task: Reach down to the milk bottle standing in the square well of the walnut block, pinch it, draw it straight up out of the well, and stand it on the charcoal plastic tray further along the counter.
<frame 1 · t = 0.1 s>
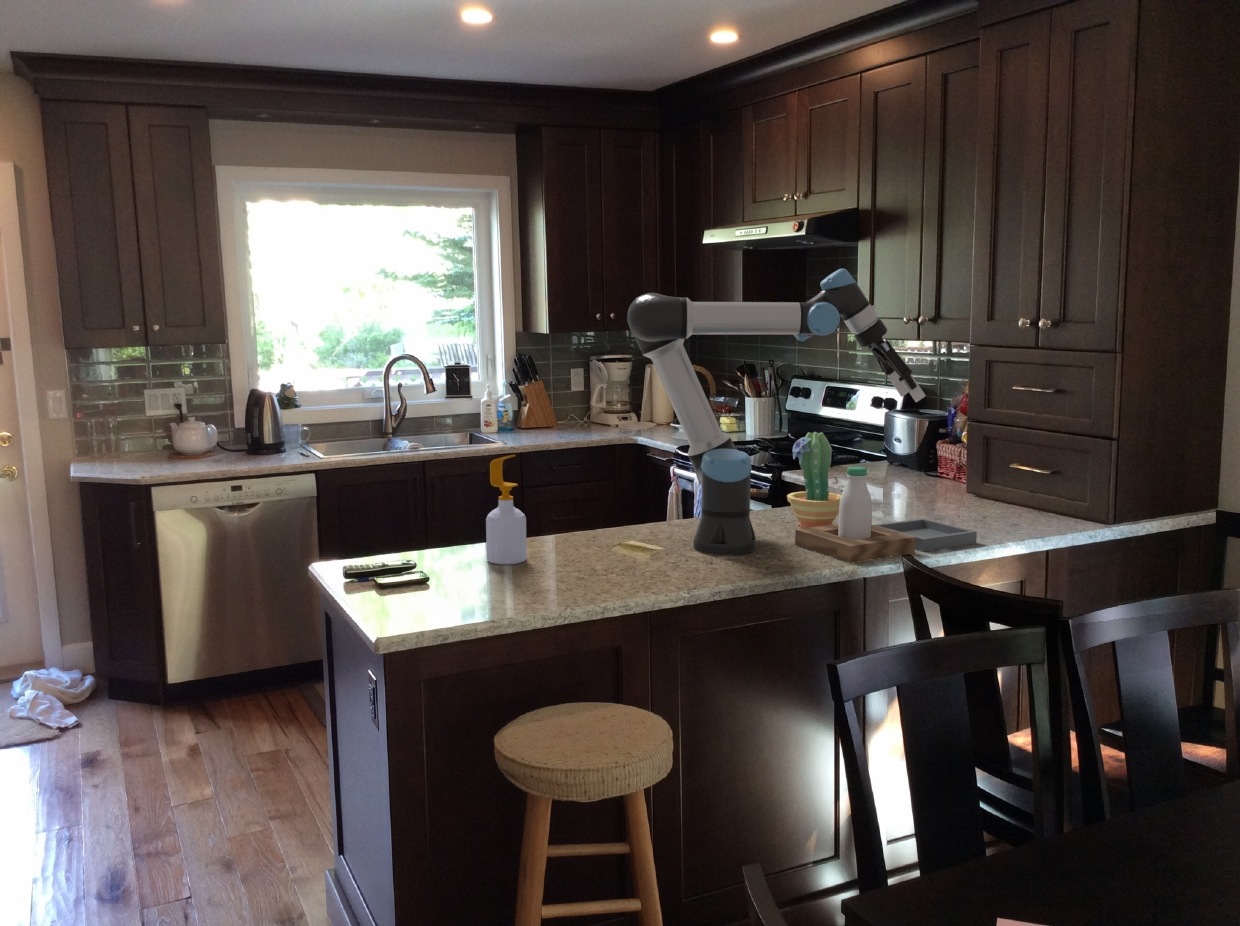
hand: (913, 396, 262), 36 cm above the worktop, tool tilted 35°, fingers open, 13 cm apart
potted cactus: (815, 526, 281), on the worktop
milk bottle: (853, 550, 254), resting in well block
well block: (853, 549, 254), on the worktop
soap bottle: (506, 561, 242), on the worktop
tray: (922, 540, 264), on the worktop
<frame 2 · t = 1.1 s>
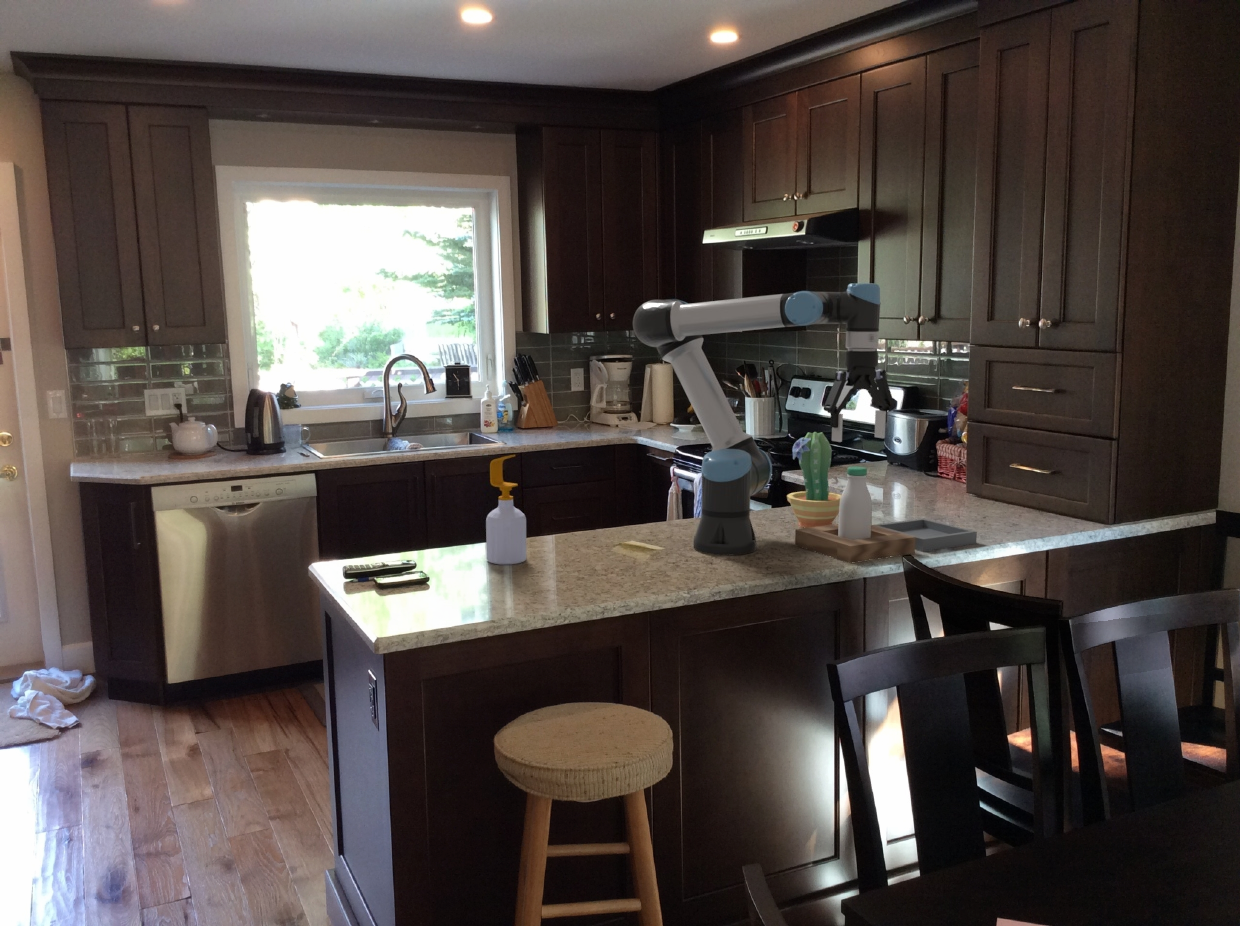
hand: (858, 439, 251), 27 cm above the worktop, tool pointing down, fingers open, 13 cm apart
nothing on the worktop moved.
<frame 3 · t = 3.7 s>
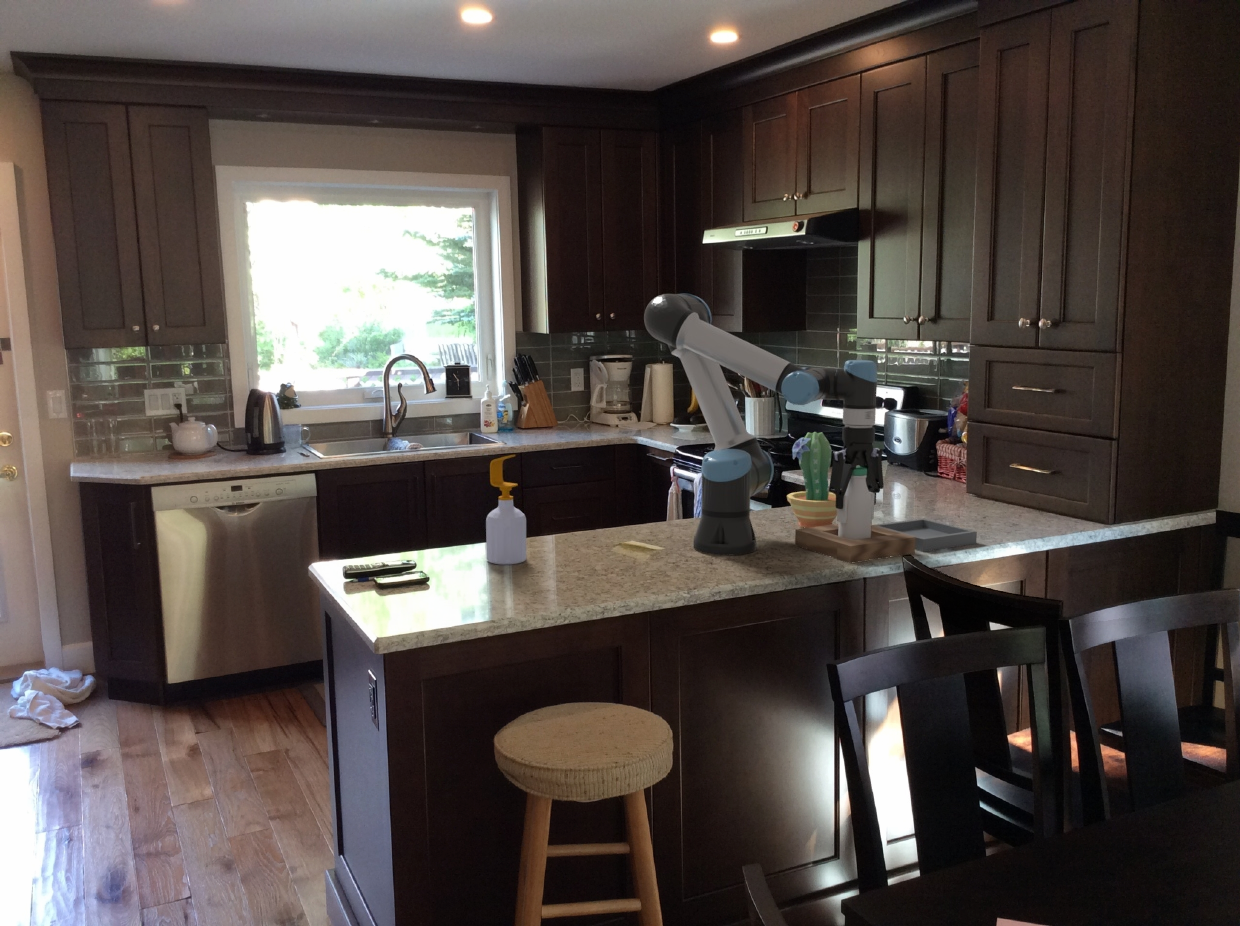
hand: (855, 520, 253), 7 cm above the worktop, tool pointing down, fingers closed on milk bottle, 8 cm apart
milk bottle: (854, 550, 254), resting in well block, touching gripper
everything else where it was.
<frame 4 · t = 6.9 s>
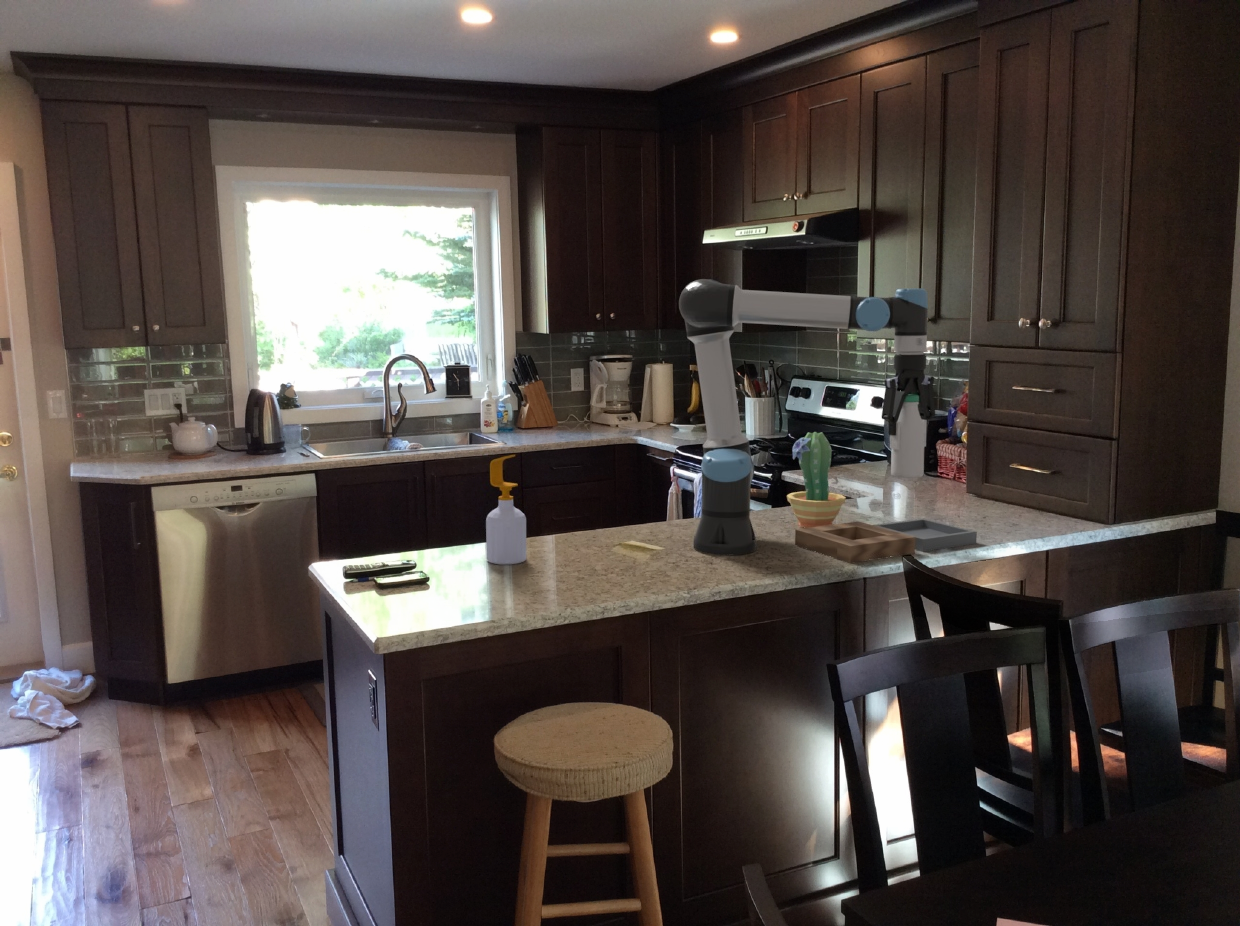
hand: (907, 447, 257), 24 cm above the worktop, tool pointing down, fingers closed on milk bottle, 8 cm apart
milk bottle: (907, 477, 258), point 17 cm above the worktop, touching gripper
everything else where it was.
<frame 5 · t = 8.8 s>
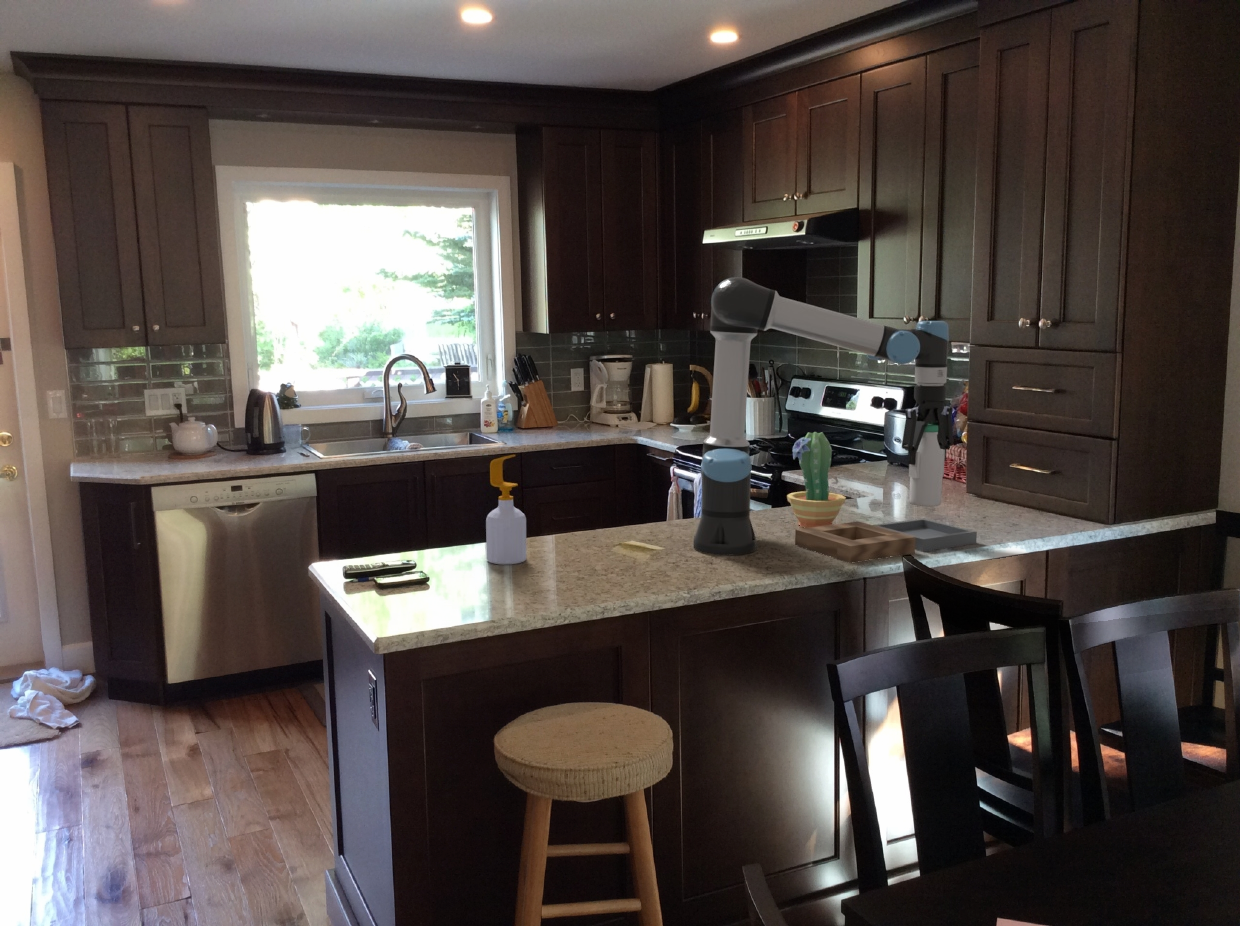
hand: (926, 476, 262), 16 cm above the worktop, tool pointing down, fingers closed on milk bottle, 8 cm apart
milk bottle: (925, 505, 263), point 9 cm above the worktop, touching gripper
everything else where it was.
when the fingers open (10 cm above the worktop, at t = 10.4 s): milk bottle drops 1 cm, resting on tray.
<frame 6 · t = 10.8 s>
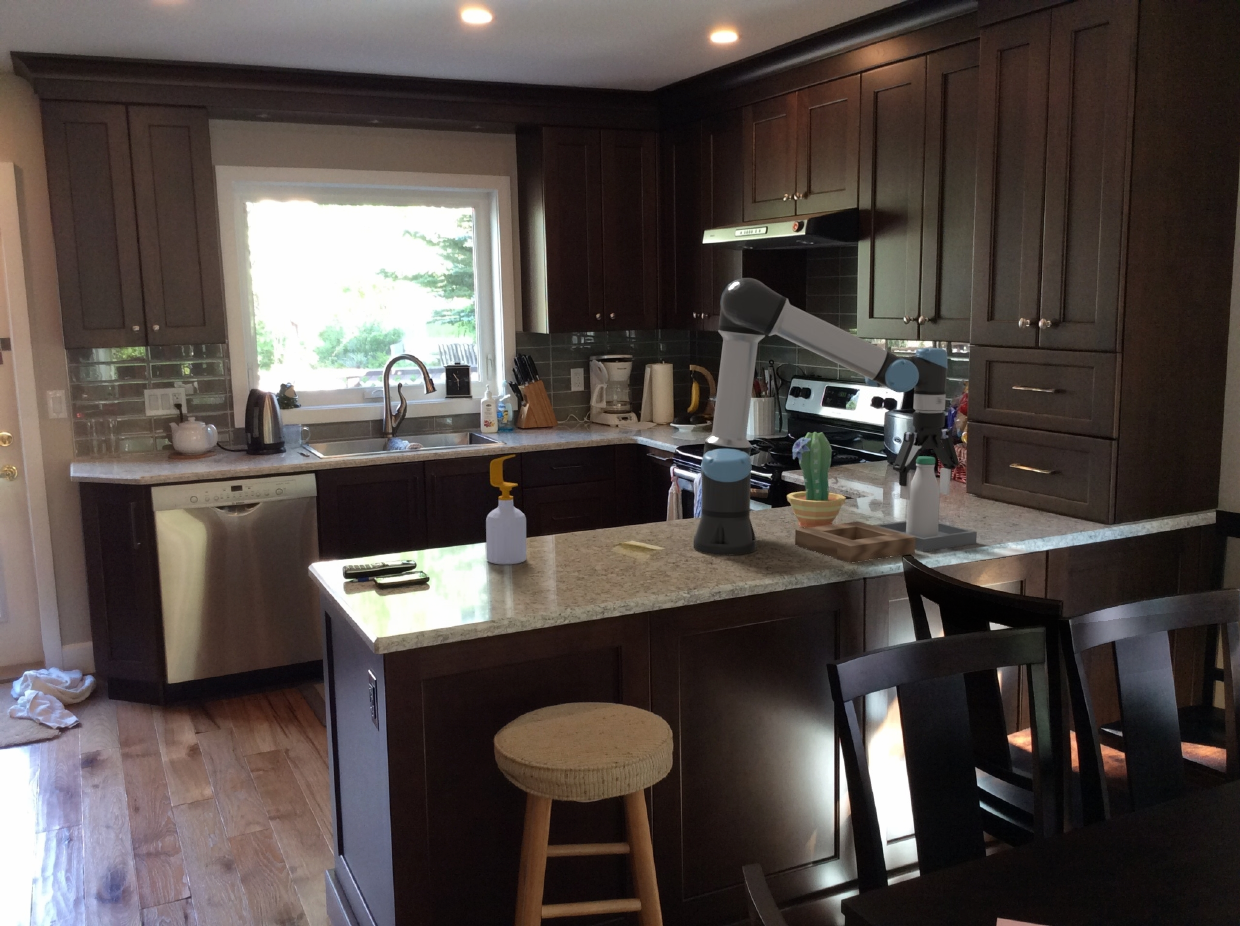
hand: (924, 496, 263), 11 cm above the worktop, tool pointing down, fingers open, 13 cm apart
milk bottle: (921, 536, 264), point 1 cm above the worktop, touching tray
everything else where it was.
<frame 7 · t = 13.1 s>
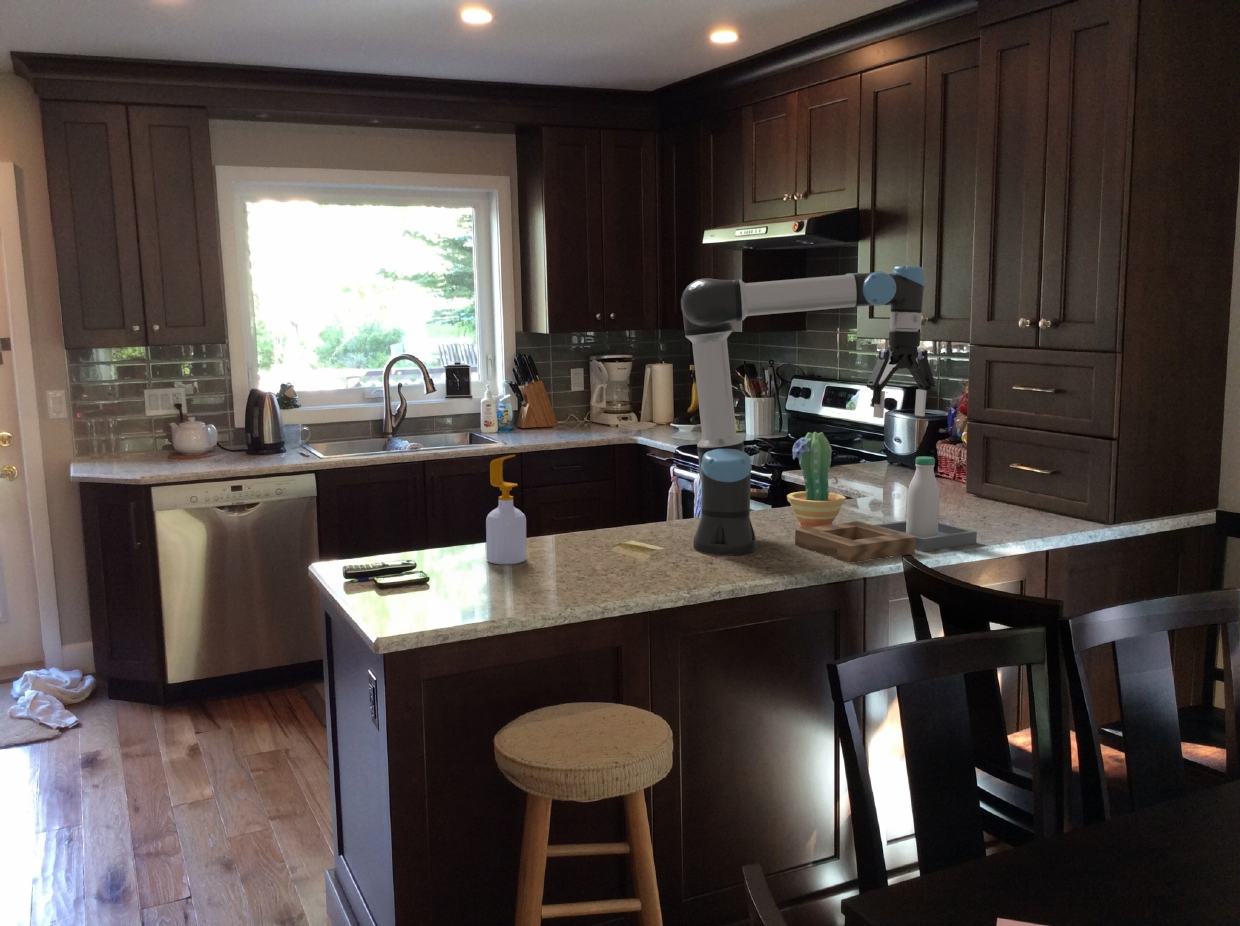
hand: (899, 416, 261), 31 cm above the worktop, tool pointing down, fingers open, 13 cm apart
nothing on the worktop moved.
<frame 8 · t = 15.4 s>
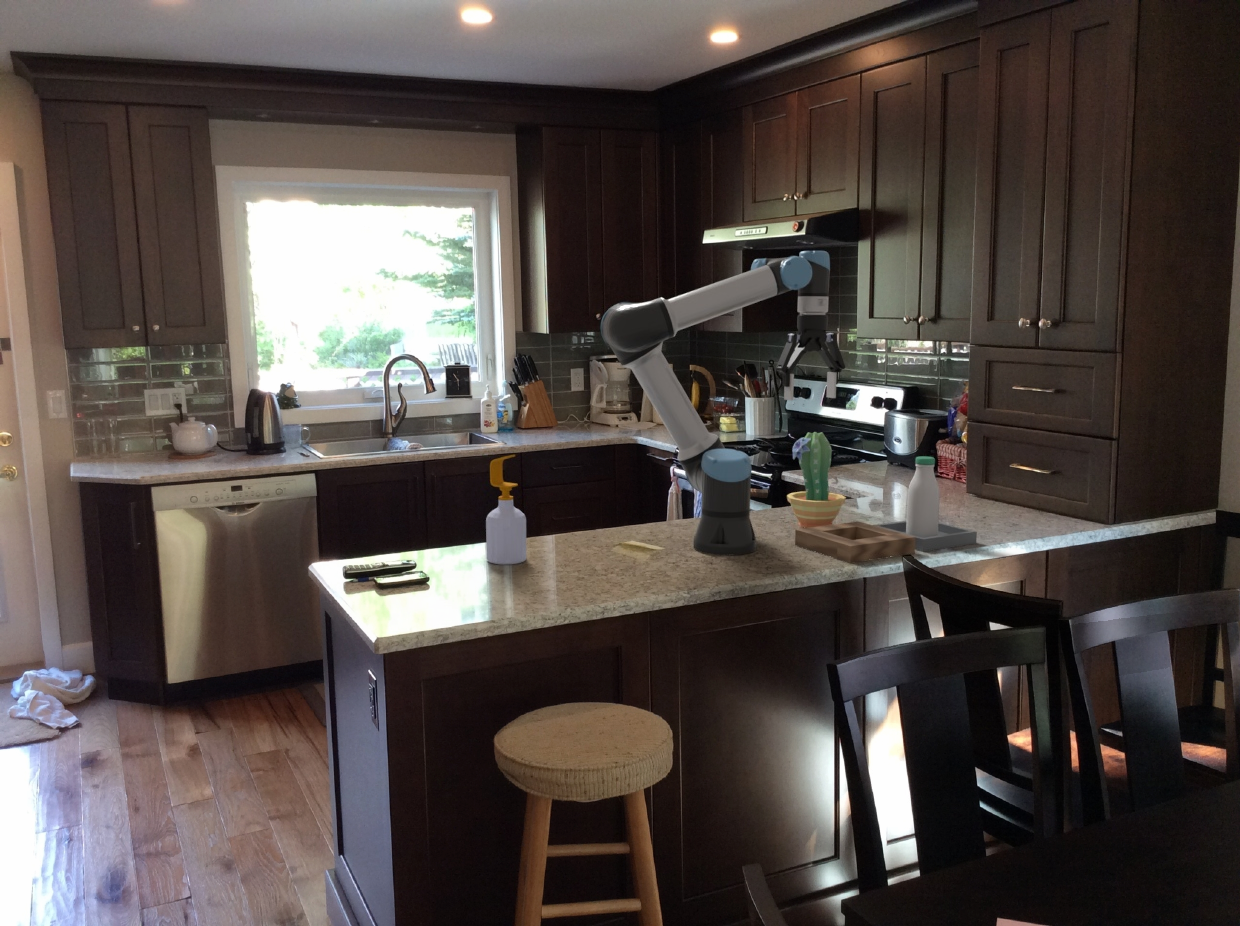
hand: (810, 399, 266), 35 cm above the worktop, tool pointing down, fingers open, 13 cm apart
nothing on the worktop moved.
at the end: milk bottle inside the target area on the tray (0.4 cm from its centre), point 0.8 cm above the tray's base; milk bottle tilted 0°; the gripper is holding nothing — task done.
